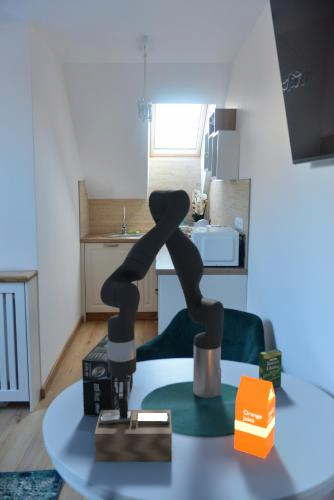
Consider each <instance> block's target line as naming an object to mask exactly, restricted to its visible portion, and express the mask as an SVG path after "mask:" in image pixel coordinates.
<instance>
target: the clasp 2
mask: <svg viewBox="0 0 334 500" xmlns="http://www.w3.org/2000/svg"><path fill="white" fill-rule="evenodd" d="M138 424H167V425H169V424H170V415H169V413H166V414H149V413H139V414H138Z"/></svg>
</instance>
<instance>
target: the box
mask: <svg viewBox="0 0 334 500" xmlns="http://www.w3.org/2000/svg"><path fill="white" fill-rule="evenodd" d="M107 347H108V333H107V334H106V335H105V336H104V337H103V338H102V339H101V340H100V341H99V342H98V343H97V344H95V346H94V347H93V348H91V350H90V351H89V352H88V353H87V354H86V355H85V356H84V357H83V358H82V359H81V368H82V369H81V370H82V371H81V372H82V403H83V415H84V416H91V417H92V416H93V417H99V415H100V411H101V410H119V405H118V404H117V399H116V388H115V380H116V376H113V375H111V374H110V373H109V372H108V350H107ZM133 375H134V374H132V375H129V376H130V377H131V380H130V390H131V389H132V387H133V384H134V382H133V381H134V380H133V378H134V377H133Z"/></svg>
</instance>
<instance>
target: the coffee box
mask: <svg viewBox="0 0 334 500" xmlns="http://www.w3.org/2000/svg"><path fill="white" fill-rule="evenodd" d="M258 354H259V359H258V360H259V361H258V362H259V363H258V379H260V380H265V381H269V382H272V385H273V388H275V387H276V388H277V387H281V385H282V363H283V361H282V358H283V357H282V351H281V350H280V349H278V348H277V349H273V350H268V351H262V352H259V353H258Z"/></svg>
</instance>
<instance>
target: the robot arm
mask: <svg viewBox="0 0 334 500" xmlns="http://www.w3.org/2000/svg"><path fill="white" fill-rule="evenodd" d="M190 208H191V198H190V196H189V193H187V191H186V190H185V189H182V188H159V189H154V190H152V191H151V192H150V195H149V197H148V210H149V213H150V215H151V218H152V220H153V222H154V223H155V225H154V226H153V227H151V229H150V230H148V231H147V232H146V233H144V234H143V235H142V236H141V237H140V238H138V240H137V241H135V243H134V244H133V246H132V247H131V248H130V249H129V251H128V253H127V255H126V256H125V259H124V261H122V264H120V266H118V267H117V268H116V269H115V270H114V271H113V272H112V273H111V274H110V275H109V276H108V277H107V278H106V280H105V281H104V282H103V284H102V286H101V289H100V293H99V295H100V296H99V297H100V300H101V302H102V303H103V304H104V305H105V306H107V307H112V308H116V309H118V310H119V311H118V314H115V315H113V316H111V317H109V318H108V320H107V334H108V347H107V350H108V372H109V373H110V374H111V375H113V376H116V380H115V388H116V399H117V404H118V405H119V409H118V410H119V415H120V417H124V416H128V410H129V399H130V398H129V397H130V391H131V389H130V380H131V377H130V376H129V375H132V374H133V375H134V374H135V373H136V372H137V345H136V338H135V337H136V335H135V332H136V331H135V322H136V318H137V313H138V309H139V306H140V301H141V294H140V290H139V287H137V285H136V284H135V283H133V282H138V281H142V280H143V279H144V278H145V277H146V275H147V274H148V273H149V270H150V268H151V267H152V264H153V263H154V261H155V259H156V257H157V255H158V254H159V253H160V251H161V249H162V248H163V246H165V247H166V249H167V252H168V254H169V257H170V259H171V263H172V266H173V268H174V271H175V274H176V276H177V278H178V281H179V284H180V287H181V289H182V293H183V296H184V300H185V305H186V308H187V312H188V316H189V318H190V320H191V322H193V323H194V324H196V325H199V326H204V327H206V329H205V331H204V332H200V333H197V334H196V335H195V336H194V338H193V371H192V372H193V374H192V375H193V381H192V382H193V386H192V387H193V388H192V392H193V394H194V395H196V397H198V398H199V397H200V398H205V399H209V398H210V399H212V398H216V397H220V396H222V368H221V358H222V357H221V354H222V352H221V351H222V339H223V336H224V324H225V323H224V321H225V307H224V305H223V303H222V302H221V301H220V300H216V299H211V298H208V297H207V298H206V297H204V296H203V294H202V291H201V288H200V283H201V280H202V279H203V275H204V273H205V272H204V271H205V266H204V262H203V257H202V255H201V253H200V249H199V248H198V247H197V245H196V244H195V243H194V242H193V240H192V239H191V238H189V237H188V235H186V234H185V232H184V231H183V230H182V229H181V228H180V225H181V224H182V223H183V222H184V220H185V219H186V217H187V215H188V213H189V212H190Z"/></svg>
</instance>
